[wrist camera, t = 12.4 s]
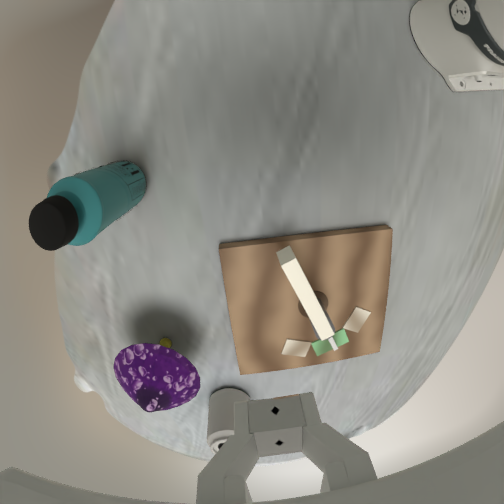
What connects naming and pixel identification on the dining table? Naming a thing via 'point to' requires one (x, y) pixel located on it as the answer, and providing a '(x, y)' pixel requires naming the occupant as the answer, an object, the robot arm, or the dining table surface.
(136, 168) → the beverage bottle
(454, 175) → the dining table surface
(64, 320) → the dining table surface
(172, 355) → the decorative mushroom
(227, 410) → the can
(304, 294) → the cream lever
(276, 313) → the board
